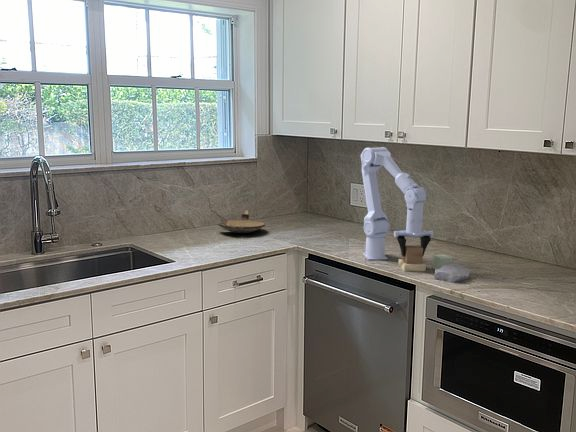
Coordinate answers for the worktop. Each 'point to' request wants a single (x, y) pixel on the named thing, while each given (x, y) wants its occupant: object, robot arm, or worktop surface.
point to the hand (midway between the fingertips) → (412, 255)
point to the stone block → (452, 273)
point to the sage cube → (440, 261)
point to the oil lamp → (242, 225)
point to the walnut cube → (413, 254)
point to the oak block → (411, 266)
